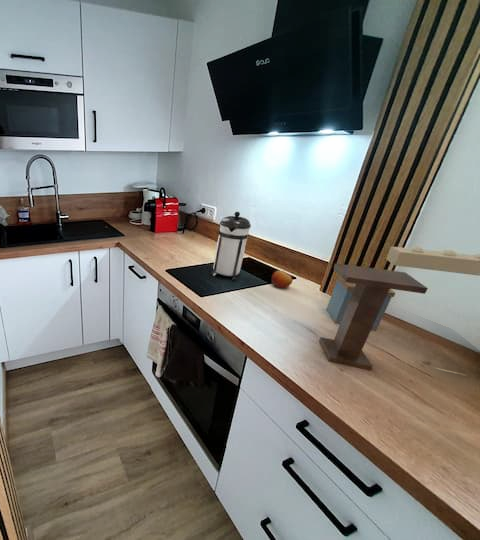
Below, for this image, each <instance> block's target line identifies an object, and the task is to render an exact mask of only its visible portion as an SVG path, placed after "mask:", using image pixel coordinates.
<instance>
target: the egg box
mask: <svg viewBox="0 0 480 540" xmlns="http://www.w3.org/2000/svg"><path fill="white" fill-rule="evenodd" d="M386 255H387V256H386V258H385V260H386V261H388V262H389V263H391V264H392V265H393V266H397V267H405V268H412V269H420V270H421V269H422V270H431V271H437V272H445V273H455V274H463V275H469V276H479V277H480V253H477V254H467V253H466V254H465V253H458V252H457V253H456V252H455V251H454V250H451V249H444V250H441V251H439V250H438V251H437V250H429V249H423V247H420V246H412V247H410V248H409V247H400V246H390V248H389V251H388V253H387V254H386Z"/></svg>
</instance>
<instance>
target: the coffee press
mask: <svg viewBox="0 0 480 540" xmlns="http://www.w3.org/2000/svg"><path fill="white" fill-rule="evenodd" d="M240 215H241V212H239V211H235V212H234V215H229V216H228V215H227V216H225V217H223V218H222V220H220V222H219V225H220V227H219V229H218V238H217V243H216V248H215V249H216V250H215V254H214V261H213V267H212V269H213V270H212V271H211V273H210V275H211V276H212V277H215V276H216V275H217V274H219V275H221V276H225V277H230V279H231V281H233V282H234V281H235V282H236V281H237V276H238V275H239V274H241V269H242V264H243V260H244V256H245V250H246V246H247V241H248V238H249V235H250V233H249V232H250V229H251V227H252V224H251V222H250V220H249V219H248V218H246V217H243V216H240Z"/></svg>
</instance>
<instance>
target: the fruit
mask: <svg viewBox="0 0 480 540" xmlns="http://www.w3.org/2000/svg"><path fill="white" fill-rule="evenodd" d="M292 283H293V278H292V276H291V275H290V274H289V273H287V272H286V271H284V270H275V271H274V272H273V274H272V276H271V284H273V286H272V288H275V287H277V288H281V289H287V288H289V286H291V285H292Z"/></svg>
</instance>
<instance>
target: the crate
mask: <svg viewBox="0 0 480 540" xmlns="http://www.w3.org/2000/svg"><path fill="white" fill-rule="evenodd" d="M355 286H356V284H355V283H348V282H345V281H344V280H343V279H342V277H341V276H340V275H339V274H338V273H337V275H336V282H335V286H334V288H333V290H332V293H331V296H330V299H329V301H328V304H327V307H326V311H327V313H328V315H329V316H330V318H331V319H332V322H334V323H333V324H338V325H340V323H341V321H342V318H343V316H344V313H345V311H346V308H347V306H348V303H349V301H350V298H351V296H352V293H353V291H354V288H355ZM395 295H396V292H395V291H394V290H393V289H389V292H388V294H387V296H386V298H385V300H384V303H383V305H382V307H381V309H380V311H379V313H378V316H377V318H376V320H375V322H374V324H373V327H372V329H371V331H377V330H378V328H379V325H380V323H381V321H382V320H383V317H384V316H385V315H384V314H385V312H386V310H387V308H388V307H389V304H390V302H391V300H392V298H394V297H395Z"/></svg>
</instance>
